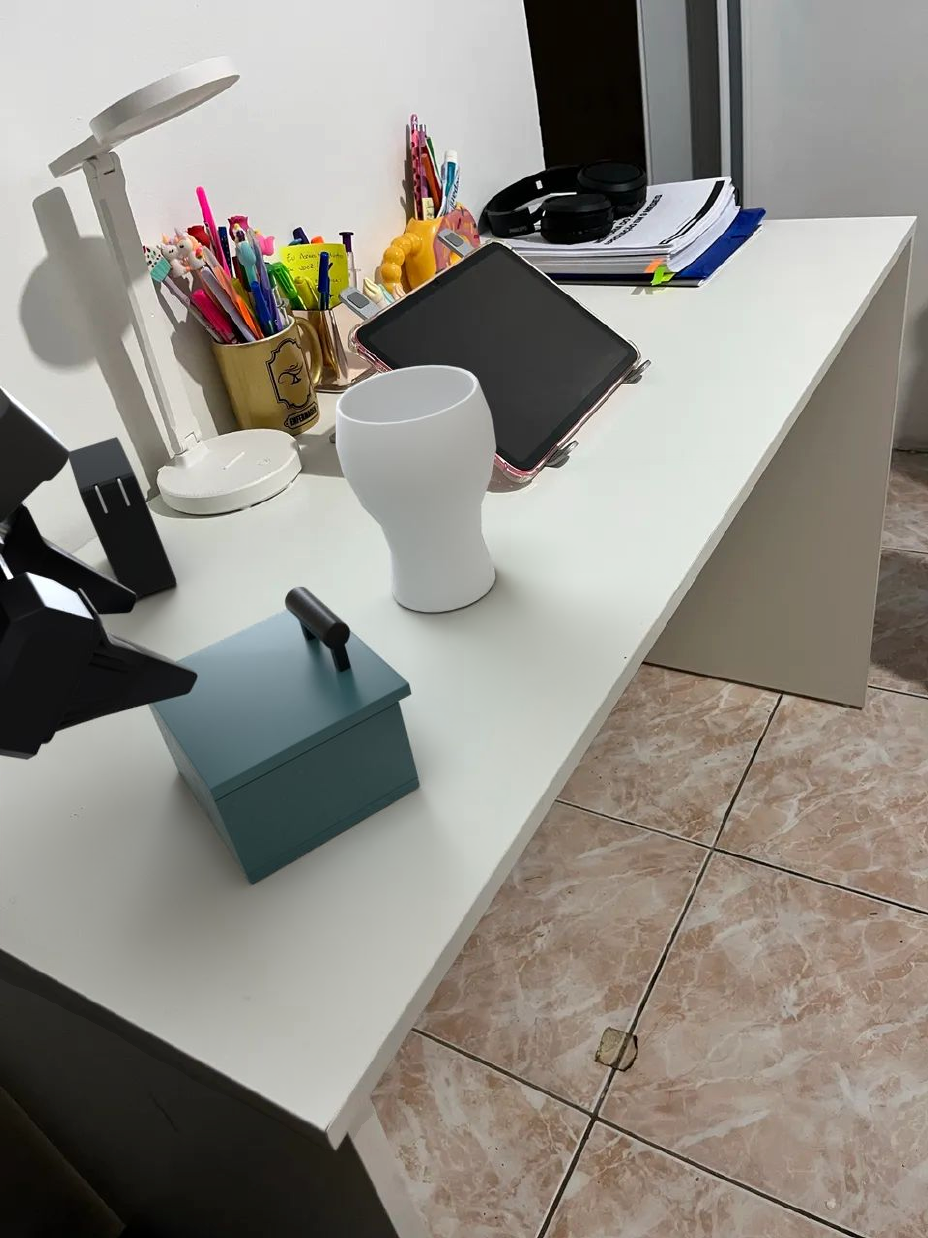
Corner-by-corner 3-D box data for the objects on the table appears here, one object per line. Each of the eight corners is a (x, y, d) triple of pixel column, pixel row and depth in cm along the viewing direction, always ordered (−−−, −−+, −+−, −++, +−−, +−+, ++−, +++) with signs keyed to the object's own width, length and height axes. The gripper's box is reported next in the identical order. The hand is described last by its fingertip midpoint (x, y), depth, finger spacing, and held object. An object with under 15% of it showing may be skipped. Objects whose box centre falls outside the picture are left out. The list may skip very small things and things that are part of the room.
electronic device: (157, 537, 84) (116, 433, 78) (179, 587, 76) (136, 475, 70) (110, 553, 83) (65, 449, 77) (127, 605, 75) (79, 493, 69)
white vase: (489, 631, 65) (455, 428, 56) (350, 619, 69) (298, 428, 60) (531, 548, 73) (507, 359, 64) (404, 542, 76) (366, 363, 68)
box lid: (316, 606, 59) (300, 552, 57) (412, 694, 50) (397, 634, 48) (141, 690, 54) (116, 634, 52) (214, 801, 46) (188, 741, 44)
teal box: (328, 691, 62) (305, 612, 59) (420, 786, 54) (399, 702, 50) (177, 769, 58) (141, 690, 54) (251, 886, 50) (214, 802, 46)
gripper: (-91, 413, 29) (316, 567, 39) (-144, 307, 43) (169, 443, 53) (-227, 726, 30) (200, 794, 41) (-236, 528, 44) (86, 617, 55)
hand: (161, 640), depth 47 cm, fingers open, 9 cm apart
